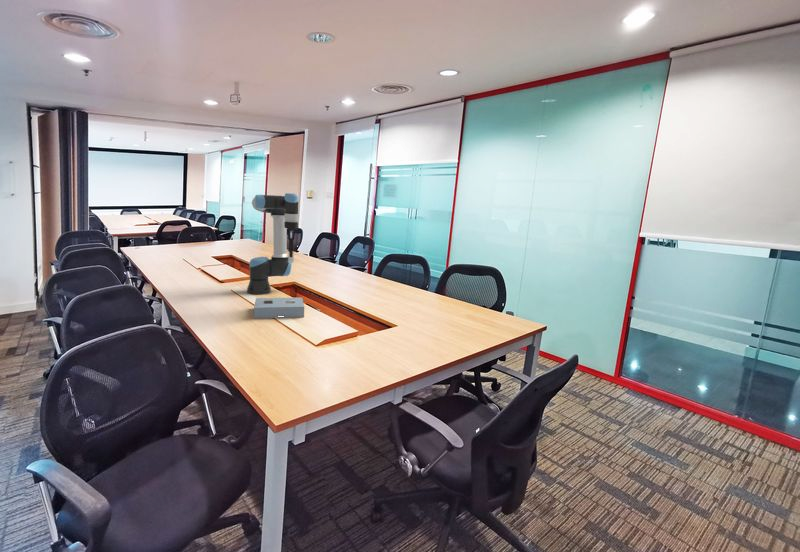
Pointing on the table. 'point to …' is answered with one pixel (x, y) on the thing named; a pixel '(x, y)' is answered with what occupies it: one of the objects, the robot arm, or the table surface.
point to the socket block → (278, 308)
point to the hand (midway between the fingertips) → (290, 262)
